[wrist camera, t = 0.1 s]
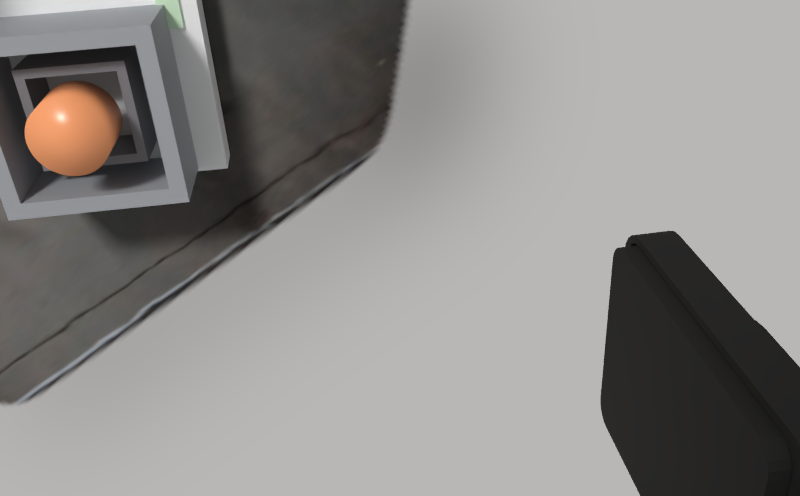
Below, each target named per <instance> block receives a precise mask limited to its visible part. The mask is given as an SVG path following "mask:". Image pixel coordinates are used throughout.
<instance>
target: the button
mask: <svg viewBox="0 0 800 496" xmlns="http://www.w3.org/2000/svg"><path fill="white" fill-rule="evenodd" d="M121 129H122V115H121V111H120V109H119V107H118V105H117V103H116V101H115V100H114V99H113V98H112V96H111V95H110V94H109V93H108V92H106V91H105V90H104V89H102V88H100V87H99V86H97V85H95V84H92V83H89V82H85V81H67V82H64V83H61V84H59V85H57V86H55V87H54V88H53V89H52V90H50V92H49V93H48V94H47V95H46V96H45V97H44V99H43V100H42V101H41V102H40V103H39V104H38V106H37V107H36V108H35V109H34V110H33V112H32V113H31V114H30V115H29V117H28V119H27V121H26V125H25V140H26V143H27V146H28V148H29V150H30V152H31V153H32V155H33V156H34V157H35V159H36V160H37V161H38V162H39V163H41V164H42V165H43V166H45V167H46V168H47V169H49V170H51V171H53V172H56V173H58V174H62V175H67V176H82V175H87V174H90V173H92V172H94V171H96V170H97V169H99V168H100V167H101V166H102V165H103V164H104V163H105V161H106V160H107V158H108V156H109V154H110V152H111V150H112V149H113V147H114V145H115V143H116V141H117V139H118V137H119V135H120V133H121Z"/></svg>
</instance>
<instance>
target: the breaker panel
mask: <svg viewBox="0 0 800 496" xmlns="http://www.w3.org/2000/svg"><path fill="white" fill-rule="evenodd" d="M67 81H85V82H89V83H92V84H95V85H97V86H99V87H100V88H102V89H104V90H105V91H106V92H108V93H109V94H110V95H111V96H112V98H113V99H114V100H115V101H116V103H117V105H118V107H119V109H120V111H121V115H122V129H121V133H120V135H119V137H118V139H117V141H116V143H115V145H114V147H113V149H112V150H111V152H110V154H109V156H108V158H107V160H106V161H105V163H104V164H103V165H102V166H101V167H100V168H99V169H97V170H96V171H94V172H92V173H90V174H87V175H82V176H67V175H62V174H58V173H56V172H53V171H51V170H49V169H47V168H46V167H45V166H43V165H42V164H41V163H39V162H38V161H37V160H36V159H35V157H34V156H33V155H32V153H31V152H30V150H29V148H28V146H27V143H26V140H25V125H26V121H27V119H28V117H29V115H30V114H31V113H32V112H33V110H34V109H35V108H36V107H37V106H38V104H39V103H40V102H41V101H42V100H43V99H44V97H45V96H46V95H47V94H48V93H49V92H50V90H52V89H53V88H54V87H55V86H57V85H59V84H61V83H64V82H67ZM229 159H230V151H229V146H228V141H227V135H226V130H225V124H224V119H223V113H222V108H221V103H220V97H219V92H218V86H217V81H216V75H215V70H214V65H213V59H212V54H211V48H210V43H209V37H208V32H207V27H206V21H205V16H204V10H203V5H202V0H0V198H1V201H2V204H3V206H4V209H5V212H6V215H7V217H8V220H19V219H29V218H38V217H48V216H58V215H68V214H77V213H87V212H97V211H107V210H117V209H126V208H136V207H146V206H156V205H166V204H175V203H185V202H190V198H191V194H192V190H193V187H194V183H195V179H196V175H197V172H198V171H206V170H216V169H226V168H228V164H229Z"/></svg>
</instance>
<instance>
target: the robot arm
mask: <svg viewBox="0 0 800 496" xmlns="http://www.w3.org/2000/svg"><path fill="white" fill-rule="evenodd" d="M606 333H607V334H606V344H605V355H604V367H603V378H602V389H601V410H602V416H603V419H604V423H605V425H606V427H607V429H608V431H609V433H610V435H611V437H612V439H613V441H614V443H615V446H616V447H617V449H618V452H619V453H620V456H621V458H622V460H623V462H624V464H625V466H626V468H627V469H628V472H629V474H630V476H631V478H632V480H633V482H634V484H635V486H636V487H637V490H638V492H639V494H640V496H800V367H799V366H798V365H797V364H796V363H795V362H794V360H793V359H792V358H791V357H790V356H789V355H788V354H787V353H786V351H785V350H784V349H783V348H782V347H781V346H780V345H779V344H778V343H777V341H776V340H775V339H774V338H773V337H772V336H771V335H770V334H769V333H768V331H767V330H766V329H765V328H764V327H763V326H762V325H760V324H759V323H758V322H757V321H755V320H754V319H753V318H752V317H751V316H750V315H749V314H748V312H747V311H746V310H745V309H744V308H743V307H742V306H741V305H740V303H739V302H738V301H737V300H736V299H735V298H734V297H733V296H732V295H731V293H730V292H729V291H728V290H727V289H726V288H725V287H724V286H723V284H722V283H721V282H720V281H719V280H718V279H717V277H716V276H715V275H714V274H713V273H712V272H711V271H710V270H709V269H708V267H707V266H706V265H705V264H704V263H703V262H702V261H701V260H700V258H699V257H698V256H697V255H696V254H695V253H694V252H693V250H692V249H691V248H690V247H689V246H688V245H687V244H686V243H685V241H684V240H683V239H682V238H681V237H680V236H679V235H678V234H677V233H676V232H674V231H666V232H657V233H649V234H640V235H632V236H630V237H629V238H628V240H627V243H626V246H625V247H622V248H617V249H616V250H615V252H614V257H613V265H612V276H611V287H610V299H609V310H608V322H607V332H606Z"/></svg>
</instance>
